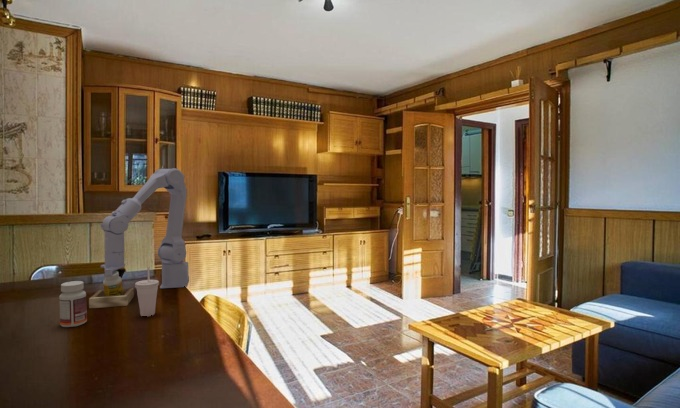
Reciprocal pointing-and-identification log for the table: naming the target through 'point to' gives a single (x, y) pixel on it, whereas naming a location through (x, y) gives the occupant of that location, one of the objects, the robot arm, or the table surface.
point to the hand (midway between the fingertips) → (114, 291)
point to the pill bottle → (72, 304)
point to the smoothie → (147, 295)
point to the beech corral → (110, 299)
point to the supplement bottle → (113, 285)
